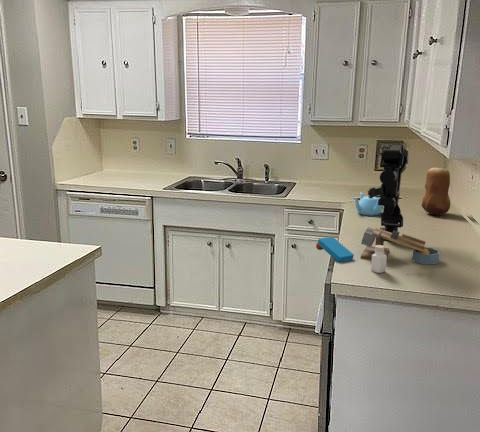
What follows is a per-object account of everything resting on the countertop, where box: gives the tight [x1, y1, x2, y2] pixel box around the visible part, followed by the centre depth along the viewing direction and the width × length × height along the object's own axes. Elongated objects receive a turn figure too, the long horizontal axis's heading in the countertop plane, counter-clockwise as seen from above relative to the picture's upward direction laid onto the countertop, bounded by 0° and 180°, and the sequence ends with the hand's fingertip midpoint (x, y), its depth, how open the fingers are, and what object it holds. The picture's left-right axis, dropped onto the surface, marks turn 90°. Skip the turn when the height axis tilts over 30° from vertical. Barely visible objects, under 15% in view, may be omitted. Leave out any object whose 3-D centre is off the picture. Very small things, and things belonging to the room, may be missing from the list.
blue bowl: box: [411, 246, 441, 265], centre depth 186 cm, size 10×10×4 cm
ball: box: [419, 248, 429, 254], centre depth 186 cm, size 4×4×4 cm
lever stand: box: [360, 226, 390, 261], centre depth 193 cm, size 14×9×10 cm, turn 156°
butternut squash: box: [421, 167, 451, 216], centre depth 253 cm, size 14×13×25 cm
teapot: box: [353, 191, 384, 217], centre depth 259 cm, size 15×15×10 cm
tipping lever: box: [360, 227, 426, 252], centre depth 190 cm, size 9×22×7 cm, turn 66°
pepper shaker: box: [370, 245, 388, 274], centre depth 174 cm, size 4×4×10 cm
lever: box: [315, 236, 354, 263], centre depth 195 cm, size 7×7×18 cm
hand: (387, 218), depth 198 cm, fingers closed
